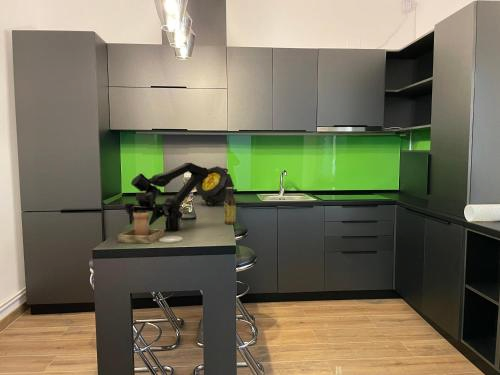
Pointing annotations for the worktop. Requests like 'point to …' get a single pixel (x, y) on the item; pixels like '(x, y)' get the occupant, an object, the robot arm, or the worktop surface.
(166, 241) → the ceramic saucer
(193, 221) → the worktop surface
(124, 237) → the pine frame
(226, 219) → the sauce bottle
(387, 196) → the worktop surface
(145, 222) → the terracotta pot
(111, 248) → the worktop surface
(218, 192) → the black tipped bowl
